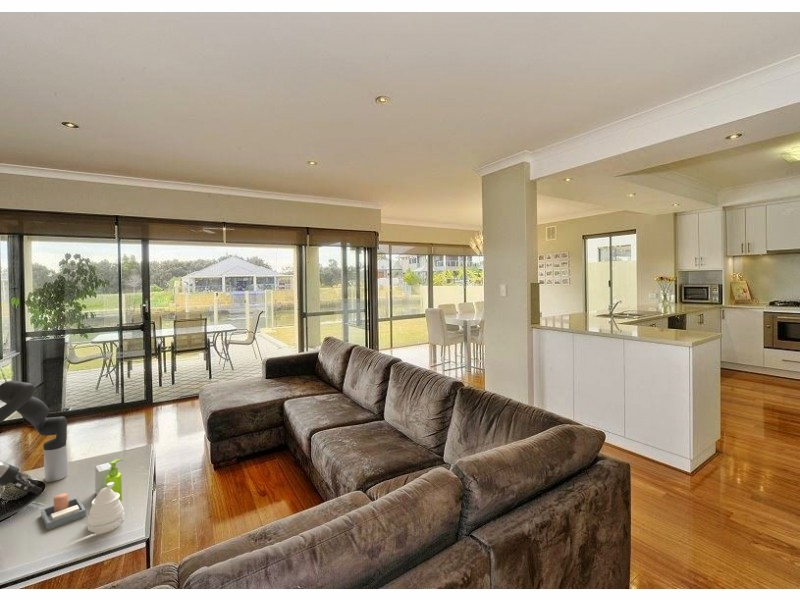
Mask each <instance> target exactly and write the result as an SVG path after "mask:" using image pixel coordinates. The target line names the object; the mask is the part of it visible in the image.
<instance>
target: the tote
mask: <svg viewBox="0 0 800 600" xmlns="http://www.w3.org/2000/svg"><path fill="white" fill-rule="evenodd" d="M68 502H69V507H72V506H75V505H78V507H79V511H77V512H74V513H72V514H69V515H66V516H63V517H60V518H58V519H55V520H52V521H51V514H52V513H54V504H53V505H50V506H48V507H45V508H41V509H40V516H41V519H42V521H43V523H44V526H45V527H46V529H47V531H49V530H52V529H54V528H57V527H60V526H62V525H65V524H68V523H71V522H74V521H75V520H79V519H82V518H84V517H87V509H86V508H85V506H84V505H83V503H82V502H81V500H80V499H79V497H78V496H76V497H74V498H72V499H71V498H70V499H68Z"/></svg>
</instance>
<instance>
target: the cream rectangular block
mask: <svg viewBox="0 0 800 600" xmlns="http://www.w3.org/2000/svg"><path fill="white" fill-rule="evenodd" d="M77 511H79V507H78V505H75V506H72V507H69V508H67V509H64V510H61V511H58V512H55V513H52V514H51V521H52V520H55V519H58V518H60V517H63V516H66V515H69V514H72V513H74V512H77Z"/></svg>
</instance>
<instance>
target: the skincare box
mask: <svg viewBox="0 0 800 600" xmlns="http://www.w3.org/2000/svg"><path fill="white" fill-rule="evenodd" d="M109 463H110V462H106V463H102V464H97V465H95V467H94V468H95V476H94V477H95V478H94V479H95V483H94V484H95V485H94V486H95V489H94V491H95V495H96V496H97V495H98V493H99V492H100V491H101V490H102V489H103V488H106V477H107V476H108V475H109V469H110V468H111V465H110V464H109Z"/></svg>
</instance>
